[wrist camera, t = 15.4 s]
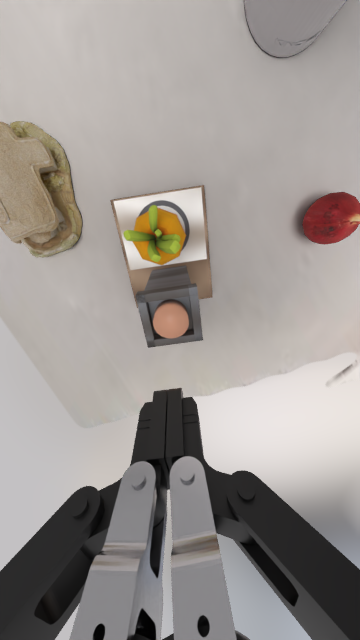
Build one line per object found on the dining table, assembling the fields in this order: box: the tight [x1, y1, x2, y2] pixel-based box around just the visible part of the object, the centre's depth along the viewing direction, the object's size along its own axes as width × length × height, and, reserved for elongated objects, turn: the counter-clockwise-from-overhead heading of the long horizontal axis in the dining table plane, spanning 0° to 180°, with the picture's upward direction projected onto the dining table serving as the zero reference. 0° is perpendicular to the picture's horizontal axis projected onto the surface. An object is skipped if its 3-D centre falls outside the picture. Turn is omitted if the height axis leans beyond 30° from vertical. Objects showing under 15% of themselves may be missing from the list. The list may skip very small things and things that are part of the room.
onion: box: [302, 192, 360, 244], centre depth 26 cm, size 6×6×8 cm
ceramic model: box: [0, 121, 82, 258], centre depth 23 cm, size 14×11×10 cm
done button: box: [153, 300, 189, 338], centre depth 21 cm, size 3×3×2 cm
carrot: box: [123, 205, 186, 265], centre depth 21 cm, size 5×5×15 cm
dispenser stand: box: [110, 185, 212, 348], centre depth 25 cm, size 15×12×13 cm
